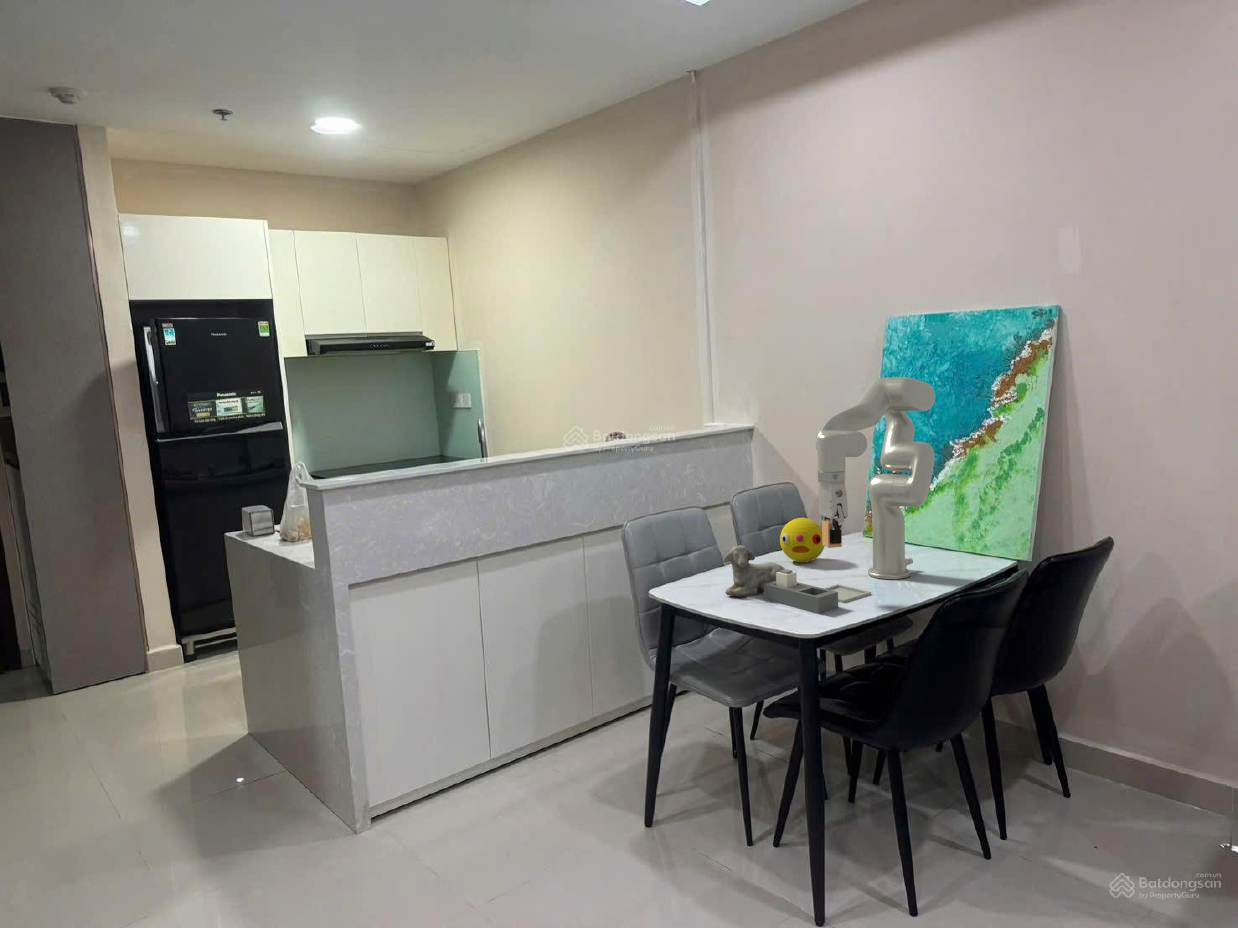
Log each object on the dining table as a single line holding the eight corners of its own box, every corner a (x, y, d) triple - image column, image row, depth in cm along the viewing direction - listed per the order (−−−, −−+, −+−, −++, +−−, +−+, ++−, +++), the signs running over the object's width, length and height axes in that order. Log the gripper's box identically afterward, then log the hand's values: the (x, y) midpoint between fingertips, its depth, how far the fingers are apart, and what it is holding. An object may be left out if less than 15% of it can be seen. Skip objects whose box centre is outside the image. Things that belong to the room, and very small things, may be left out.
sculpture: (720, 595, 242) (718, 546, 240) (772, 582, 254) (770, 535, 252) (745, 603, 233) (743, 551, 231) (798, 589, 245) (796, 540, 243)
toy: (777, 567, 271) (775, 523, 269) (783, 556, 286) (782, 513, 285) (823, 568, 266) (822, 523, 264) (827, 557, 282) (826, 514, 280)
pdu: (783, 595, 239) (782, 564, 238) (838, 609, 222) (837, 577, 221) (764, 601, 234) (763, 569, 233) (818, 616, 218) (817, 582, 217)
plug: (835, 544, 232) (835, 517, 232) (841, 546, 228) (841, 519, 228) (822, 545, 232) (822, 518, 231) (828, 547, 228) (828, 520, 227)
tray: (837, 588, 243) (837, 584, 243) (871, 596, 233) (871, 591, 233) (810, 596, 236) (810, 592, 236) (843, 605, 226) (843, 600, 226)
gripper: (857, 480, 220) (857, 547, 222) (831, 473, 237) (832, 535, 239) (831, 481, 219) (831, 548, 221) (807, 474, 236) (807, 537, 237)
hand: (832, 541), depth 230 cm, fingers closed on plug, 4 cm apart
